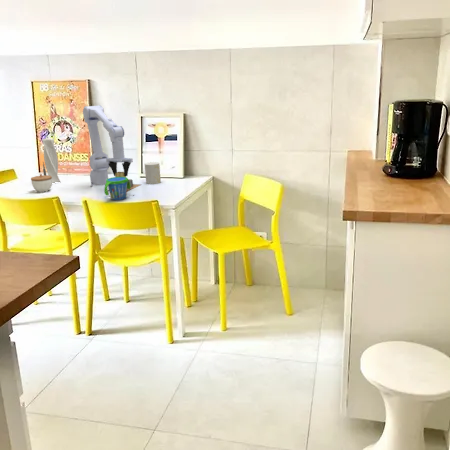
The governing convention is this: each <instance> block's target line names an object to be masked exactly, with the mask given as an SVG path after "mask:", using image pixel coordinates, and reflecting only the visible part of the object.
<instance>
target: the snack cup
mask: <svg viewBox="0 0 450 450" xmlns="http://www.w3.org/2000/svg"><path fill="white" fill-rule="evenodd" d="M130 188H131V185H130V181H129V178H128V176H126V177H115V176H112V177H108V179H106V184H105V185H104V190H103V191H104V195H105V196H109V195H110V198H111V200H113V201H121V200H125V199H127V194H128V193H127V189H130ZM108 190H109V191H108Z"/></svg>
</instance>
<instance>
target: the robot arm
mask: <svg viewBox="0 0 450 450" xmlns="http://www.w3.org/2000/svg"><path fill="white" fill-rule="evenodd" d="M82 115H83V120H84V123H86V124H87V129H88V133H89V137H90V143H91V148H92V151H93V153H92V154H91V155H90V156H89V167H90V169H91V171H90V172H89V179H90V187H94V186H95V185H96V186H105V184H106V179H108V178H109V174H108V170H109V168H110V169H111V172H112V174H113V177H115V172H118V167H117V166H118V163H121V165H122V169H123V172H124V176H126V177H128V174H129V169H130V167H131V164H132V163H133V158H131V157H130V158H129V157H125V150H124V139H123V138H124V137H125V129H124V128H123V126H122V125H117V123H116V122H115V121H114V120H113V118H108V116H107V115H106V113H105V110H104V107H103V106H102V105H100V104H99V105H89V106H88V105H86V106H84V107H83V109H82ZM99 122H101V123H102V125H103V128H104V129H105V130H106V131H107V132H108V135H109V136H108V137H109V139H110V142H111V147H112V156H113V157H109V156H108V154H107V153H105V152H103V151H104V150H103V148H102V142H101V137H100V132H99V127H98V123H99Z"/></svg>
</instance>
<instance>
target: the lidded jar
mask: <svg viewBox="0 0 450 450" xmlns="http://www.w3.org/2000/svg"><path fill="white" fill-rule="evenodd" d="M30 180H31V184H32V188H33V189H34V190H35V191H36V192H37V193H45V192H44V191H47V192H49V191H50V189H52V186H53V184H52V176H49V175H48V174H46V175H44V174H43V175H42V173H40V174H39V175H35V176H32V177H31V178H30ZM48 190H49V191H48Z"/></svg>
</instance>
